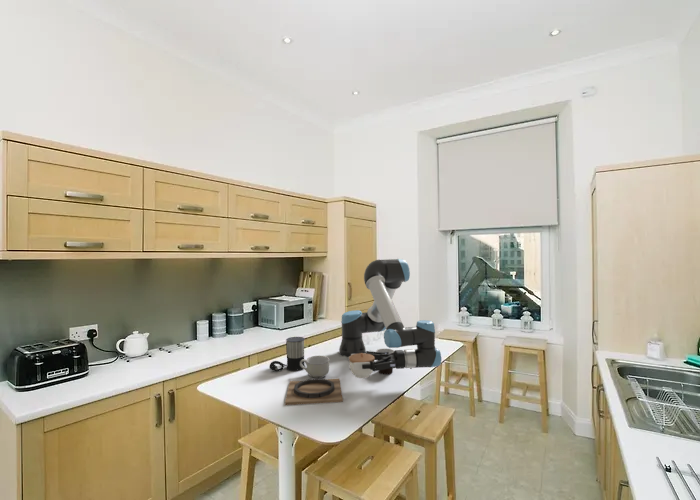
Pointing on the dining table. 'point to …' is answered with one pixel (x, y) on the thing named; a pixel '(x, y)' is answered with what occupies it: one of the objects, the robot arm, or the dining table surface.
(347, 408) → the dining table surface
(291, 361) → the milk frother
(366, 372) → the lidded jar
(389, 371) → the coffee mug
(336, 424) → the dining table surface
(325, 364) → the teacup
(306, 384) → the locating board
